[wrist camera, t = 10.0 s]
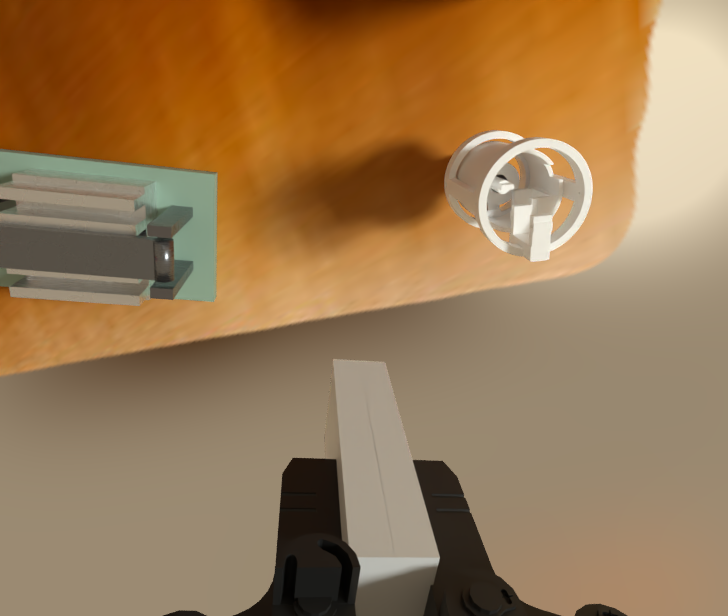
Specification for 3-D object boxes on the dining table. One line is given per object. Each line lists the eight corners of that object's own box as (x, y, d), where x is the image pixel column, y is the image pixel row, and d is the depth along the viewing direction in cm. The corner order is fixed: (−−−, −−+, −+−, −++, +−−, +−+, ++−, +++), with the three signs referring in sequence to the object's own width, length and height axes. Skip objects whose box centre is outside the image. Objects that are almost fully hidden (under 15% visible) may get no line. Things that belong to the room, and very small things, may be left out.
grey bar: (175, 237, 36) (167, 246, 34) (176, 276, 37) (168, 287, 35) (-46, 217, 34) (-69, 225, 32) (-38, 259, 35) (-60, 269, 33)
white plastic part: (429, 214, 44) (483, 267, 30) (427, 130, 41) (486, 146, 27) (506, 206, 44) (595, 256, 30) (510, 122, 41) (609, 134, 27)
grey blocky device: (192, 184, 39) (164, 205, 32) (193, 289, 43) (168, 330, 35) (-24, 162, 37) (-108, 178, 30) (-5, 274, 41) (-76, 314, 33)
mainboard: (217, 172, 40) (214, 174, 39) (216, 296, 45) (213, 301, 43) (-24, 146, 38) (-34, 147, 37) (-1, 280, 42) (-10, 285, 41)
